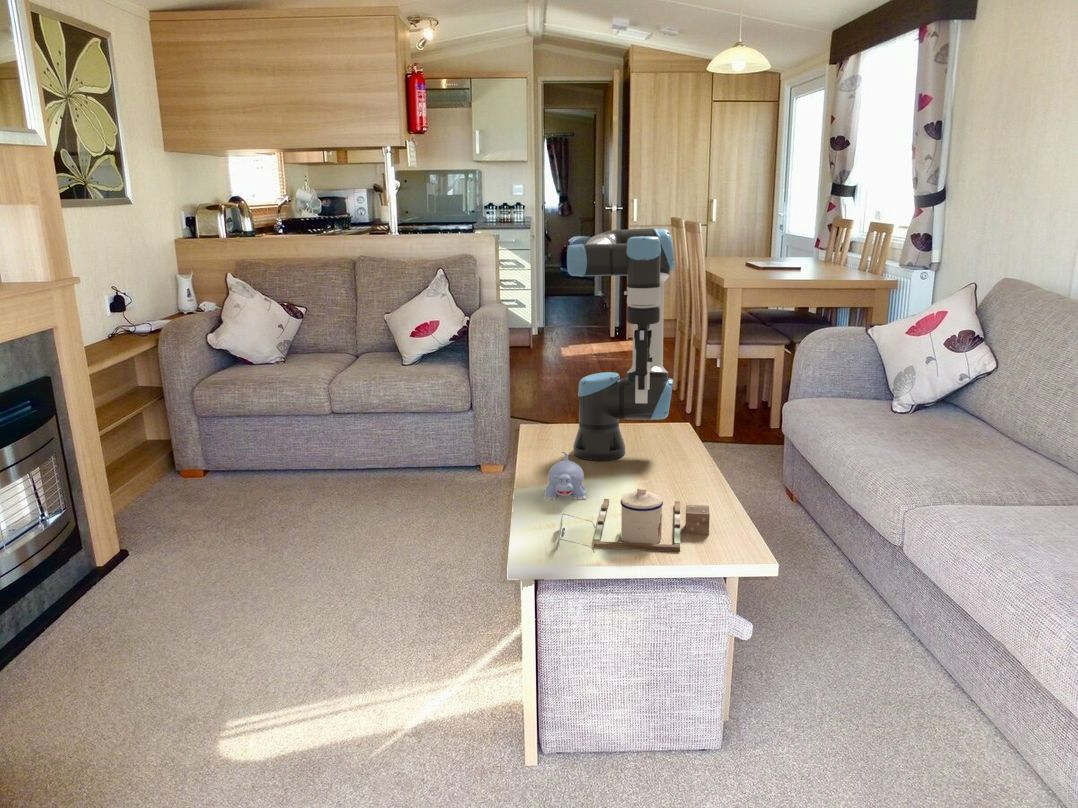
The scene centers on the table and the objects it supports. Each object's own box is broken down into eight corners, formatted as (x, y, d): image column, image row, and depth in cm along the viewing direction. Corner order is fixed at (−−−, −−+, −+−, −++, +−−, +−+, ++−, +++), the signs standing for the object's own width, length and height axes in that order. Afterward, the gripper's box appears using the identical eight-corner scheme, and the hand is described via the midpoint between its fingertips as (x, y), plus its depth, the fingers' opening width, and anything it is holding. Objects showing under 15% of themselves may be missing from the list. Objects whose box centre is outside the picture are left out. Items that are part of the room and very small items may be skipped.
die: (685, 525, 179) (685, 504, 178) (708, 526, 178) (708, 505, 177) (685, 534, 174) (686, 513, 173) (708, 535, 174) (709, 513, 172)
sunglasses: (559, 528, 180) (562, 508, 179) (596, 534, 180) (599, 514, 179) (555, 554, 167) (559, 533, 166) (595, 561, 167) (598, 539, 165)
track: (604, 502, 194) (604, 495, 193) (679, 505, 191) (679, 498, 190) (593, 547, 169) (593, 539, 168) (680, 551, 166) (680, 543, 165)
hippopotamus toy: (542, 508, 191) (541, 471, 189) (545, 486, 206) (544, 451, 203) (586, 508, 191) (586, 471, 188) (586, 486, 205) (586, 451, 203)
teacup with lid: (668, 544, 169) (669, 493, 166) (627, 549, 167) (628, 497, 165) (649, 523, 181) (650, 475, 178) (611, 527, 179) (611, 478, 176)
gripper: (629, 299, 194) (629, 383, 199) (623, 313, 170) (623, 408, 175) (660, 298, 193) (659, 384, 198) (658, 313, 169) (657, 409, 174)
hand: (642, 396), depth 187 cm, fingers open, 13 cm apart
